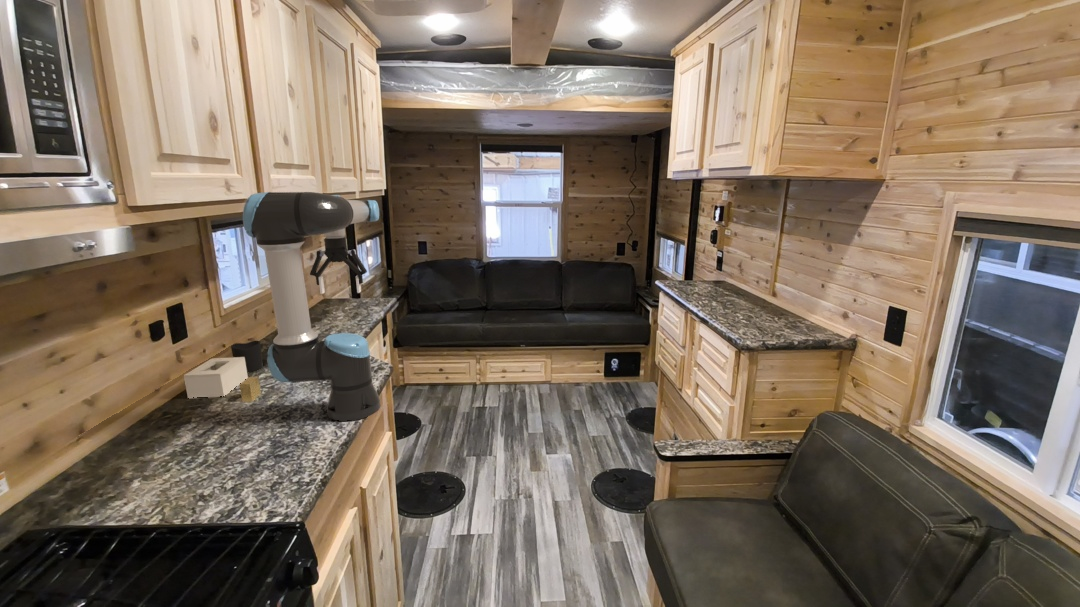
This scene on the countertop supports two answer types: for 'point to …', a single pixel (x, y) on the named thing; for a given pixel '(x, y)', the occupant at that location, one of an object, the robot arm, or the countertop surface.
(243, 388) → the block
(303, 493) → the countertop surface
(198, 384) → the box
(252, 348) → the pen holder
